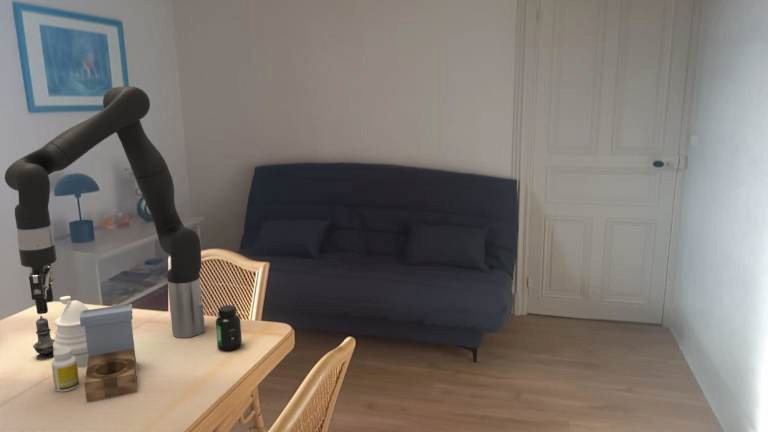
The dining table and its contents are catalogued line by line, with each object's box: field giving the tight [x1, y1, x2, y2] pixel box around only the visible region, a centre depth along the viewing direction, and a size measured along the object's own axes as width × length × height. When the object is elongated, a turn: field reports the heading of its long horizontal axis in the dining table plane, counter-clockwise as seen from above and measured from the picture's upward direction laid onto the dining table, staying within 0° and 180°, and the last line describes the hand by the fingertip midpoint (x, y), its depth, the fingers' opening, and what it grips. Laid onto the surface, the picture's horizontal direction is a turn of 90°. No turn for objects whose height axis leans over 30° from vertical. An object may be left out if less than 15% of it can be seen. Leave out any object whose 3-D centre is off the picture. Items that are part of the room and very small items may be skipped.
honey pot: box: [53, 295, 90, 368], centre depth 156 cm, size 13×13×18 cm
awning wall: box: [80, 303, 137, 360], centre depth 148 cm, size 12×5×17 cm, turn 114°
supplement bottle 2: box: [215, 304, 243, 353], centre depth 162 cm, size 7×7×12 cm
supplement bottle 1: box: [51, 348, 80, 393], centre depth 141 cm, size 5×5×10 cm
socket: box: [84, 349, 138, 403], centre depth 143 cm, size 11×15×5 cm
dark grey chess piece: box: [32, 315, 55, 361], centre depth 157 cm, size 6×6×12 cm
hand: (45, 307), depth 140 cm, fingers open, 8 cm apart
